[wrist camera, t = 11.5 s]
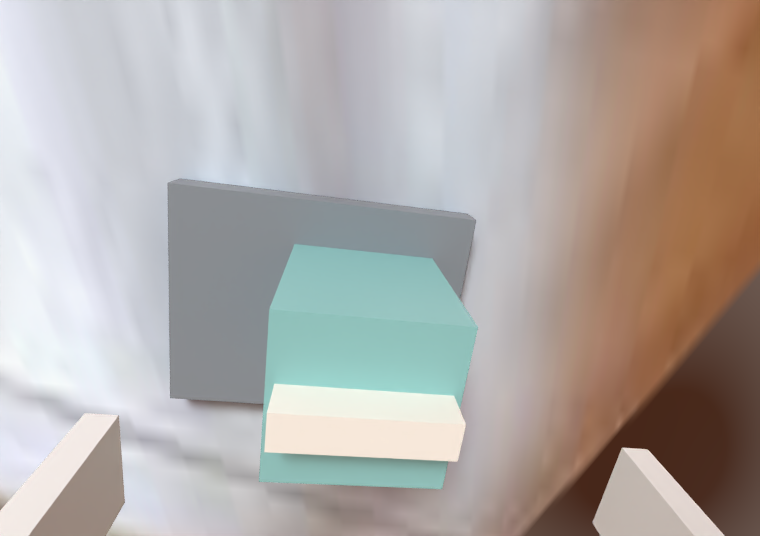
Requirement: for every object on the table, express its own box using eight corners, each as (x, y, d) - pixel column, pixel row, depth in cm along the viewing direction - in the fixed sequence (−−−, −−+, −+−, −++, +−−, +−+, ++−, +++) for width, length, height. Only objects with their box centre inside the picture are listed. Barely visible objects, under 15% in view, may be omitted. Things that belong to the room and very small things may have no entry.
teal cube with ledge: (285, 367, 22) (250, 518, 14) (294, 243, 20) (260, 331, 12) (411, 376, 23) (451, 524, 15) (432, 258, 21) (493, 350, 13)
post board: (179, 178, 20) (110, 203, 14) (467, 213, 22) (516, 249, 16) (180, 381, 24) (124, 471, 18) (430, 398, 26) (458, 486, 19)
